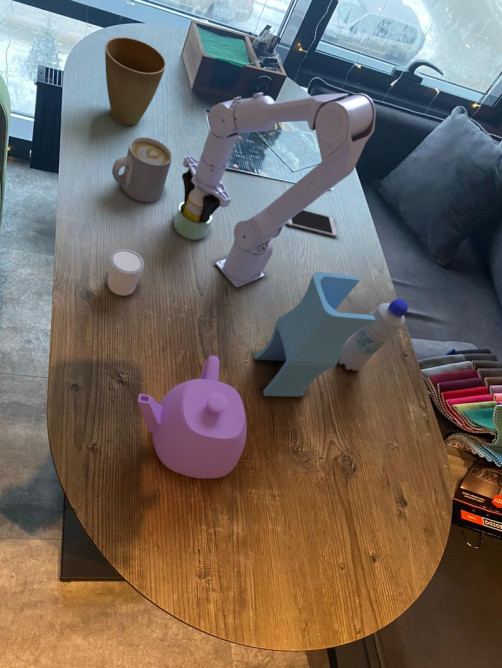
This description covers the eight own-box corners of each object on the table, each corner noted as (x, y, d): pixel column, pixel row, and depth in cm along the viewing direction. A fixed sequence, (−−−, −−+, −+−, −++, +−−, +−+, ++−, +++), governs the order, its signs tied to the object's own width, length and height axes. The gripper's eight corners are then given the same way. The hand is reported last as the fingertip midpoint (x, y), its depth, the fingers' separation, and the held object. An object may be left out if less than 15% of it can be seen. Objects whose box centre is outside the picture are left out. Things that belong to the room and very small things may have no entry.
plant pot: (96, 94, 137) (105, 30, 124) (150, 108, 142) (164, 47, 129) (96, 127, 130) (105, 62, 117) (153, 140, 134) (168, 78, 122)
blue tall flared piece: (306, 396, 104) (376, 320, 84) (264, 395, 101) (326, 315, 81) (295, 357, 109) (358, 276, 89) (253, 355, 106) (310, 270, 86)
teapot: (131, 378, 94) (149, 328, 82) (233, 398, 98) (263, 353, 86) (119, 476, 83) (136, 435, 71) (233, 493, 88) (268, 457, 76)
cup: (192, 212, 124) (198, 197, 120) (213, 234, 122) (219, 220, 118) (166, 219, 120) (171, 204, 116) (187, 243, 118) (192, 228, 114)
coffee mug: (156, 176, 127) (166, 139, 119) (166, 203, 123) (176, 167, 115) (104, 171, 122) (110, 132, 114) (112, 200, 117) (119, 161, 109)
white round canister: (132, 302, 103) (139, 278, 98) (100, 290, 102) (105, 265, 97) (141, 280, 107) (148, 255, 101) (110, 268, 106) (115, 243, 100)
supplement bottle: (193, 232, 117) (205, 198, 110) (176, 218, 118) (187, 183, 110) (207, 224, 120) (220, 191, 113) (190, 210, 121) (202, 176, 113)
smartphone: (284, 204, 136) (333, 217, 140) (283, 206, 137) (332, 219, 141) (287, 223, 132) (337, 235, 136) (286, 225, 133) (336, 237, 137)
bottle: (362, 357, 116) (418, 299, 99) (358, 379, 112) (416, 322, 96) (336, 345, 115) (388, 284, 99) (331, 365, 111) (385, 306, 95)
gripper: (179, 140, 106) (164, 194, 117) (221, 185, 102) (201, 237, 113) (204, 135, 109) (187, 188, 120) (245, 179, 106) (224, 229, 117)
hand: (195, 211), depth 117 cm, fingers closed on supplement bottle, 5 cm apart
